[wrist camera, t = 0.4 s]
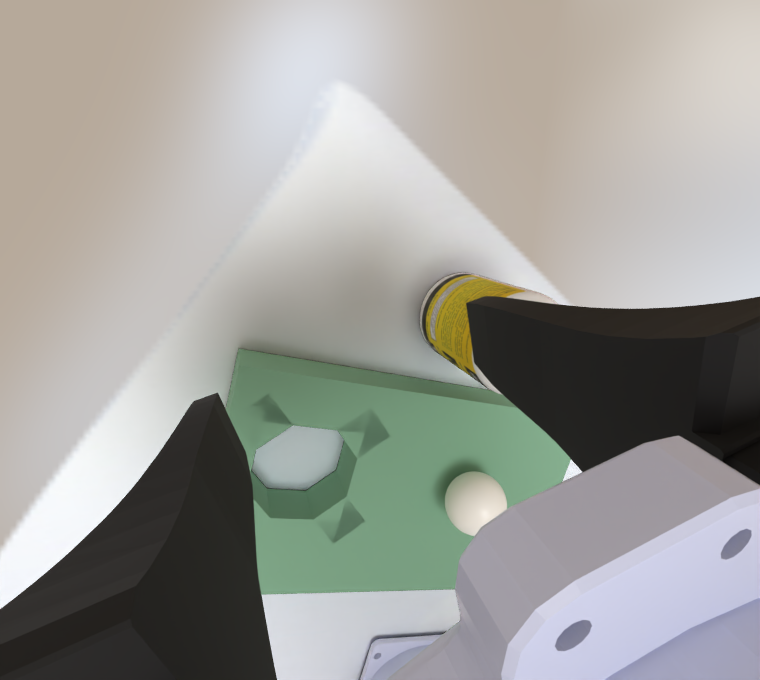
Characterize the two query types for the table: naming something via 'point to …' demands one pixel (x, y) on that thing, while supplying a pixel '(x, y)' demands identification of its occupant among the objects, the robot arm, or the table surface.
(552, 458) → the green
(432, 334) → the supplement bottle
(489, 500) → the ball
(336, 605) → the table surface
